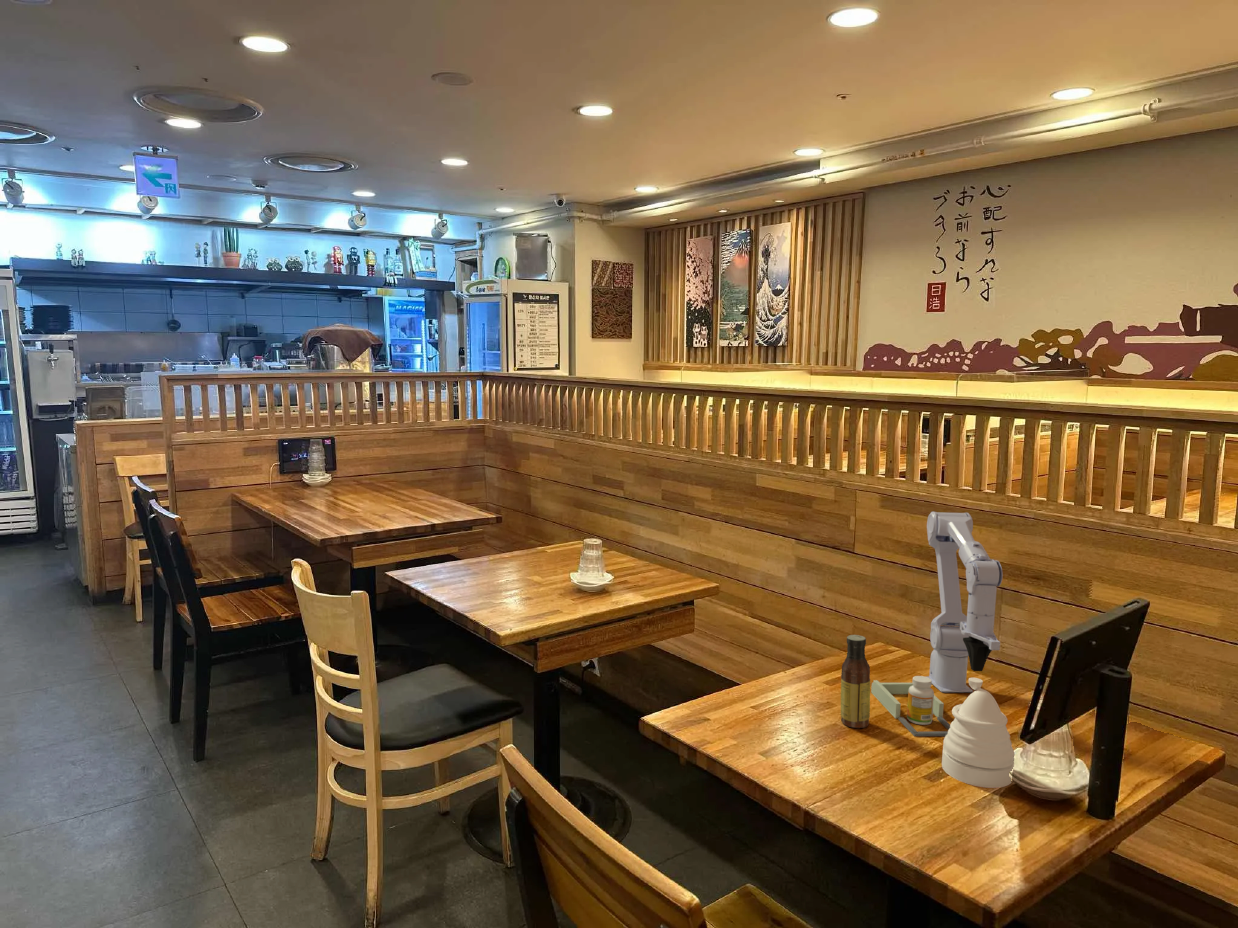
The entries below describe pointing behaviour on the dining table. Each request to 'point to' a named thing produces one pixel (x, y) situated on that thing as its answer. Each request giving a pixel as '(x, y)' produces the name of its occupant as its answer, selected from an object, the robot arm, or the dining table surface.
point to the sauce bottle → (855, 684)
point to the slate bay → (926, 733)
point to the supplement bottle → (920, 701)
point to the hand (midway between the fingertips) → (976, 670)
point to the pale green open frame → (891, 704)
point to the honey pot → (978, 742)
